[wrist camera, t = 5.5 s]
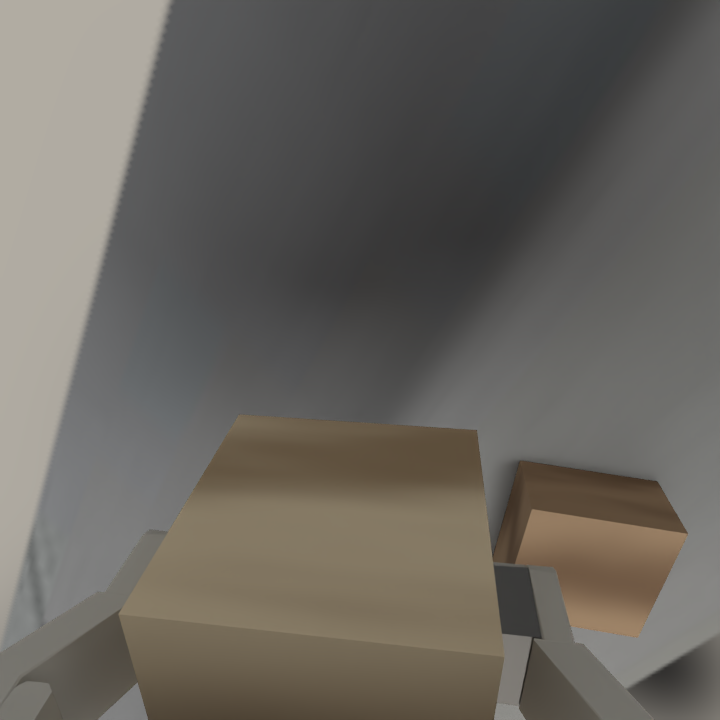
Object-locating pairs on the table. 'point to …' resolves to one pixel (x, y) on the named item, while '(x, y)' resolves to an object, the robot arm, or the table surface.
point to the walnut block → (593, 541)
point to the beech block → (324, 580)
